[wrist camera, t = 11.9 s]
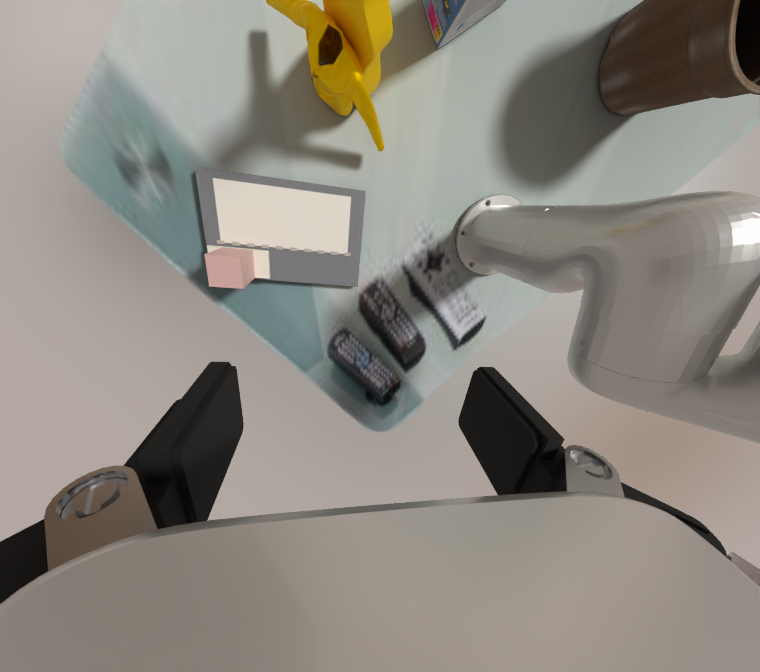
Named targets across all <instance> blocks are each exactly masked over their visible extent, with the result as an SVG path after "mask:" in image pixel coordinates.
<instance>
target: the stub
mask: <svg viewBox="0 0 760 672" xmlns="http://www.w3.org/2000/svg"><path fill="white" fill-rule="evenodd" d="M207 250H208V253H206V254H204V255H205V262H206V268H207V275H208V281H209V287H223V288H238V289H244V288H245V287H246V286H247V285H248V284H249V283H250V282H251V281H252V280H253V279H254V278H266V279H270V278H271V277H270V259H269V251H268V250H257V249H247V248H236V247H225V246H215V245H208V246H207Z"/></svg>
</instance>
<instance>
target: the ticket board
mask: <svg viewBox="0 0 760 672" xmlns="http://www.w3.org/2000/svg"><path fill="white" fill-rule="evenodd" d="M195 173H196V180H197V186H198V193H199V200H200V206H201V213H202V220H203V227H204V233H205V240H206V247H207V246H208V245H215V246H225V247H236V248H247V249H257V250H268V251H269V259H270V277H271V278H270V279H266V278H254V279H262V280H275V281H288V282H302V283H315V284H329V285H342V286H355V287H358V275H359V263H360V251H361V239H362V227H363V215H364V203H365V191H362V190H355V189H348V188H341V187H334V186H327V185H320V184H313V183H306V182H299V181H292V180H285V179H278V178H271V177H264V176H257V175H250V174H243V173H236V172H229V171H222V170H215V169H208V168H201V167H195ZM207 253H208V250H207Z"/></svg>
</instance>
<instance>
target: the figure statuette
mask: <svg viewBox="0 0 760 672" xmlns="http://www.w3.org/2000/svg"><path fill="white" fill-rule="evenodd" d="M266 2H267V4H268V5H270V6H271V7H273V8H274V9H276V10H277V11H279V12H280V13H282V14H283V15H285V16H286V17H288V18H289V19H291V20H292V21H293V22H294V23H295V24H296V25H298V26H300V27H302V28H304V29H305V30H306V37H307V42H308V46H307V49H308V57H309V64H310V67H311V77H312V81H313V84H314V86H315V88H316V91H317V93H318V95H319V96H320V97H321V98H322V99H323V100H324V101H325V102H326V103H327V104H328V105H329V106H330V107H331V108H332V109H333V110H334V111H335V112H336V113H337V114H339V115H343V116H347V115H349V114H350V112H351V110H352V108H353V103H354V104H355V106H356V108H357V110H358V111H359V113H360V115H361V116H362V118H363V120H364V122H365V123H366V125H367V127H368V129H369V131H370V133H371V135H372V137H373V140H374V142H375V144H376V146H377V148H378V150H379V151H382V150H383V149H384V144H383V139H382V135H381V131H380V127H379V123H378V120H377V116H376V113H375V109H374V106H373V103H372V100H371V98H370V95H371V94H372V93H373V92H374V90H375V89H376V88H377V87H378V85H379V83H380V78H381V64H380V53H381V52H382V50H383V49H384V48H385V47H386V46H387V44H388V43H389V42H390V40H391V38H392V34H393V24H392V17H391V11H390V5H389V0H323V3H324V11H322V10H321V9H320V8H319V7H318V6H317V5H316V4H314V3H312V2H310V1H307V0H266ZM323 60H325V61H326V63H327V64H325V65H320V66H319V62H320V61H323Z"/></svg>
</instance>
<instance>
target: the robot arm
mask: <svg viewBox="0 0 760 672" xmlns="http://www.w3.org/2000/svg"><path fill="white" fill-rule="evenodd" d="M485 202H486V204H485ZM462 231H463V234H461V233H462ZM456 248H457V253H458V256H459V258H460V260H461V262H462V263H463V264H464V265H465V267H467V268H468V269H469V270H471V271H473V272H475V273H478V274H482V275H490V274H495V273H499V272H500V273H502V274H505V275H507V276H510V277H512V278H515V279H517V280H520V281H522V282H525V283H527V284H530V285H532V286H534V287H537V288H540V289H542V290H545V291H548V292H553V293H570V292H575V291H579V290H583V289H584V291H583V296H582V300H581V306H580V310H579V313H578V317H577V320H576V324H575V328H574V331H573V335H572V339H571V343H570V347H569V352H568V359H567V361H568V368H569V370H570V373H571V374H572V376H573V377H574V378H575V379H576V380H577V381H578V382H579V383H580V384H581V385H583V386H584V387H585V388H587V389H589V390H591V391H592V392H594V393H597V394H598V395H601V396H603V397H606V398H608V399H611V400H613V401H616V402H619V403H622V404H625V405H628V406H632V407H635V408H638V409H642V410H645V411H648V412H652V413H656V414H659V415H662V416H666V417H669V418H673V419H677V420H680V421H683V422H687V423H690V424H694V425H697V426H701V427H705V428H708V429H712V430H715V431H719V432H722V433H726V434H729V435H732V436H736V437H739V438H743V439H747V440H750V441H753V442H757V443H760V322H759V323H758V325H757V326H756V328H755V330H754V331H753V333H752V335H751V336H750V338H749V340H748V341H747V343H746V344H745V346H744V348H743V349H742V350H741V351H740V352H739V353H738V354H735V355H728V356H718V355H719V353H720V351H721V350H722V348H723V346H724V345H725V343H726V341H727V339H728V338H729V336H730V334H731V332H732V330H733V329H735V328H736V326H737V324H738V323H739V321H740V319H741V317H742V316H743V314H744V312H745V310H746V309H747V307H748V305H749V303H750V302H751V300H752V298H753V296H754V295H755V293H756V291H757V289H758V288H759V285H760V197H757V196H754V195H751V194H746V193H741V192H732V191H709V192H698V193H687V194H680V195H674V196H668V197H662V198H656V199H650V200H644V201H637V202H629V203H621V204H610V205H571V206H524V205H523V204H522V203H521V202H520V201H519V200H518V199H516V198H515V197H513V196H510V195H506V194H497V195H491V196H488V197H485V198H483V199H481V200H479V201H478V202H477V203H475V204H474V205H473V206H472V207H471V208H470V209H469V210H468V211H467V212H466V214H465V215H464V217H463V219H462V221H461V223H460V225H459V228H458V231H457V237H456ZM470 263H471V264H470ZM469 264H470V265H469ZM459 427H460V429H461V430H462V432H463V434H464V436H465V437H466V439H467V441H468V443H469V445H470V446H471V448H472V450H473V452H474V453H475V455H476V457H477V458H478V460H479V462H480V464H481V466H482V467H483V469H484V471H485V473H486V475H487V476H488V478H489V480H490V482H491V484H492V485H493V487H494V489H495V491H496V492H497V494H498V495H497V496H484V497H470V498H457V499H444V500H431V501H419V502H407V503H394V504H382V505H371V506H358V507H346V508H335V509H323V510H311V511H300V512H288V513H277V514H267V515H257V516H247V517H238V518H228V519H218V520H209V521H207V520H208V517H209V514H210V512H211V510H212V507H213V504H214V502H215V500H216V497H217V494H218V492H219V489H220V487H221V485H222V482H223V480H224V477H225V475H226V472H227V469H228V467H229V465H230V462H231V460H232V457H233V455H234V452H235V450H236V447H237V445H238V442H239V440H240V437H241V435H242V431H243V416H242V408H241V400H240V392H239V385H238V377H237V369H236V367H235V366H231V364H230V363H229V362H210V363H209V365H208V366H207V367H206V368H205V370H204V371H203V372H202V373H201V375H200V376H199V377H198V378H197V380H196V381H195V382H194V383H193V385H192V386H191V387H190V389H189V390H188V391H187V392H186V394H185V395H184V396H183V397H182V399H179V400H177V401H176V402H175V403H174V404H173V405H172V406H171V407H170V409H169V410H168V411H167V413H166V414H165V415H164V416H163V417H162V419H161V420H160V421H159V422H158V424H157V425H156V426H155V427H154V429H153V430H152V431H151V432H150V433H149V435H148V436H147V437H146V438H145V440H144V441H143V442H142V443H141V445H140V446H139V447H138V448H137V450H136V451H135V452H134V453H133V455H132V456H131V457H130V458H129V460H128V461H127V462H126V463H125V465H124V466H111V467H106V468H101V469H99V470H96V471H93V472H90V473H88V474H86V475H84V476H82V477H80V478H78V479H76V480H75V481H73V482H72V483H70V484H69V485H68V486H66V487H65V488H63V489H62V490H61V491H60V492H59V493H58V494H57V495H56V496H55V497H54V498H53V499H52V500H51V502H50V503H49V505H48V507H47V508H46V512H45V516H44V519H43V520H41V521H39V522H38V523H36V524H34V525H32V526H30V527H28V528H26V529H24V530H22V531H20V532H18V533H16V534H14V535H12V536H11V537H9V538H7V539H5V540H3V541H1V542H0V672H760V569H758V568H757V567H755V566H754V565H752V564H751V563H749V562H747V561H746V560H744V559H743V558H741V557H739V556H738V555H737V554H735V553H733V552H731V553H730V554H729V555H727V554H726V551H725V549H724V547H723V546H722V544H721V542H720V541H719V540H718V539H717V538H716V537H715V536H714V535H713V533H711V532H710V531H709V530H708V529H707V528H706V527H705V526H704V525H703V524H702V523H701V522H699V521H698V520H696V519H695V518H693V517H691V516H689V515H687V514H685V513H683V512H681V511H679V510H677V509H675V508H673V507H671V506H669V505H667V504H665V503H663V502H661V501H658V500H657V499H655V498H652V497H650V496H648V495H646V494H644V493H642V492H640V491H638V490H636V489H634V488H632V487H630V486H628V485H626V484H624V483H621V482H620V479H619V475H618V473H617V471H616V469H615V468H614V467H613V465H612V464H611V463H610V462H608V461H607V460H606V459H605V458H604V457H602V456H601V455H599V454H598V453H596V452H594V451H592V450H590V449H588V448H585V447H582V446H576V445H573V446H568V447H567V448H566V449H564V448H563V447H562V446H561V445H562V443H563V441H564V438H563V437H562V436H561V435H560V434H559V433H558V432H557V431H556V430H555V429H554V428H553V427H552V426H551V425H550V424H549V423H548V422H547V421H546V420H545V419H544V418H543V417H542V416H541V415H540V414H539V413H538V412H537V411H536V410H535V409H534V408H533V407H532V406H531V405H530V404H529V403H528V402H527V401H526V400H525V399H524V398H523V397H522V396H521V395H520V394H519V393H518V392H517V391H516V390H515V388H514V387H512V385H511V384H510V383H509V382H508V381H506V379H505V378H504V377H503V376H502V375H501V374H500V373H499V372H498V371H497V370H496V369H495V368H493V367H479V368H478V369H477V370H476V371H474V372H473V375H472V378H471V381H470V385H469V388H468V391H467V394H466V397H465V400H464V404H463V407H462V410H461V413H460V417H459Z"/></svg>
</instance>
